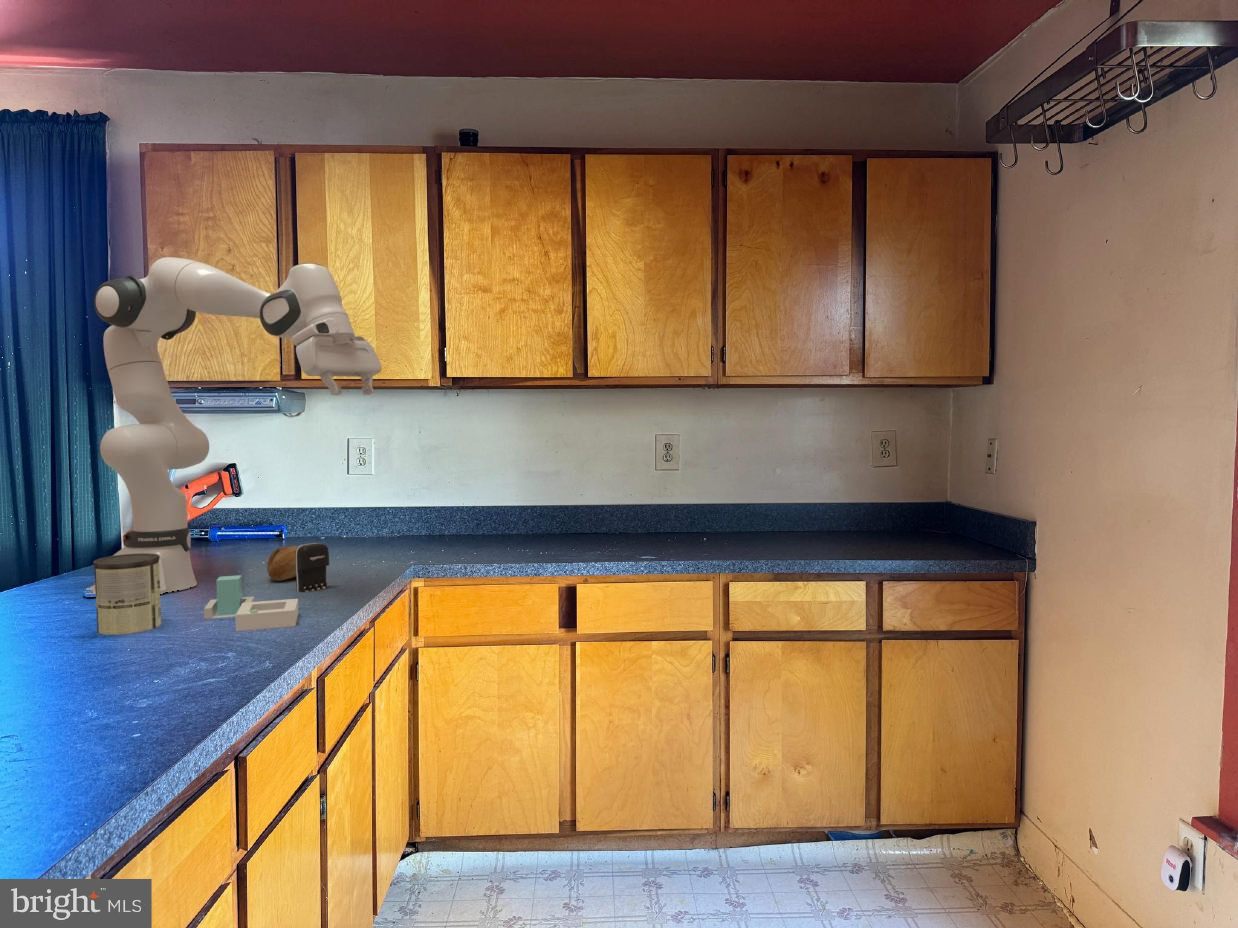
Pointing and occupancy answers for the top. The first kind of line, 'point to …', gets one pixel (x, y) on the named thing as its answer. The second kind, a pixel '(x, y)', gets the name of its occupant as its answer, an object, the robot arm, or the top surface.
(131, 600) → the coffee can
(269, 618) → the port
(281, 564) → the bread roll
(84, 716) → the top surface
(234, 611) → the plug
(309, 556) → the battery
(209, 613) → the holster
